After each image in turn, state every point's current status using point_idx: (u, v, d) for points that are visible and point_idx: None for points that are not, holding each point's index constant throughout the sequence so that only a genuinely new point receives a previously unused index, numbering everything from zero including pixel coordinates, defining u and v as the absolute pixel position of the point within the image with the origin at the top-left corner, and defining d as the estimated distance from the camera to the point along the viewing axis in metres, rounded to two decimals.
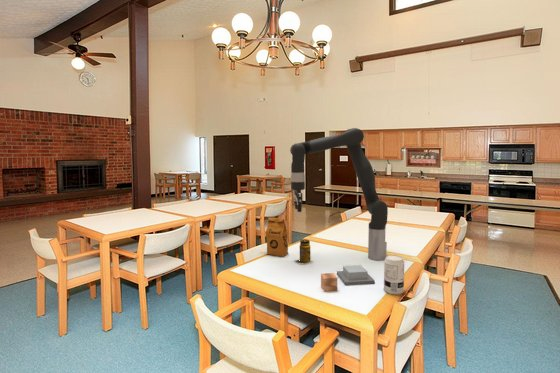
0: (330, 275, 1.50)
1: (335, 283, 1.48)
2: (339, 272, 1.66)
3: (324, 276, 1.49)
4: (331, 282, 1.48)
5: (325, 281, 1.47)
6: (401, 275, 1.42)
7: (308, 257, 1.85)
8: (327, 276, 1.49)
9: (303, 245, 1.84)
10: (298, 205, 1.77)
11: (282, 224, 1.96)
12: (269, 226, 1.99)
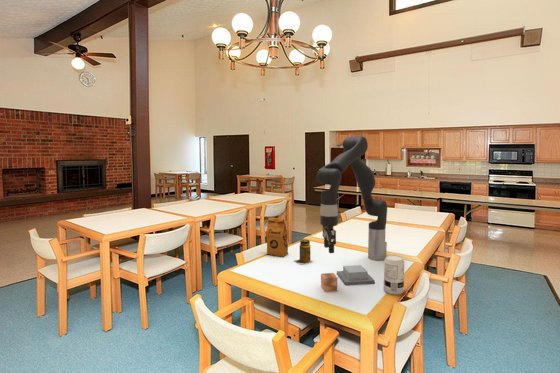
0: (330, 275, 1.50)
1: (335, 283, 1.48)
2: (339, 272, 1.66)
3: (324, 276, 1.49)
4: (331, 282, 1.48)
5: (325, 281, 1.47)
6: (401, 275, 1.42)
7: (308, 257, 1.85)
8: (327, 276, 1.49)
9: (303, 245, 1.84)
10: (330, 245, 1.43)
11: (282, 224, 1.96)
12: (269, 226, 1.99)
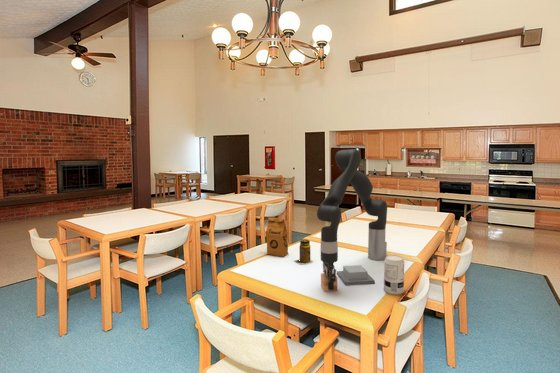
0: None
1: (335, 283, 1.48)
2: (339, 272, 1.66)
3: (324, 276, 1.49)
4: None
5: (325, 281, 1.47)
6: (401, 275, 1.42)
7: (308, 257, 1.85)
8: (327, 276, 1.49)
9: (303, 245, 1.84)
10: (330, 282, 1.46)
11: (282, 224, 1.96)
12: (269, 226, 1.99)
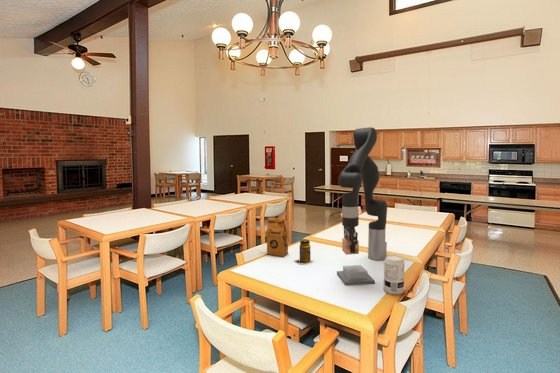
0: None
1: (356, 246, 1.55)
2: (339, 272, 1.66)
3: (346, 240, 1.57)
4: None
5: (347, 244, 1.54)
6: (401, 275, 1.42)
7: (308, 257, 1.85)
8: None
9: (303, 245, 1.84)
10: (351, 245, 1.53)
11: (282, 224, 1.96)
12: (269, 226, 1.99)
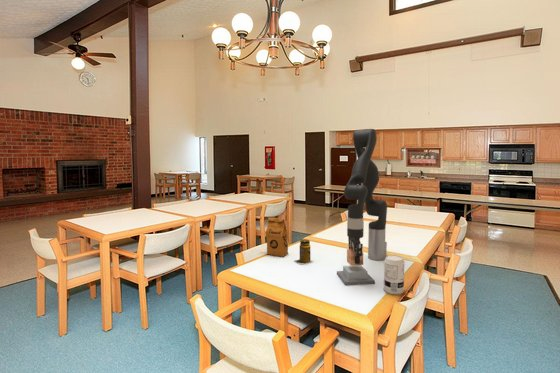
0: None
1: (361, 257, 1.57)
2: (339, 272, 1.66)
3: (350, 251, 1.59)
4: None
5: (352, 255, 1.57)
6: (401, 275, 1.42)
7: (308, 257, 1.85)
8: None
9: (303, 245, 1.84)
10: (356, 256, 1.56)
11: (282, 224, 1.96)
12: (269, 226, 1.99)
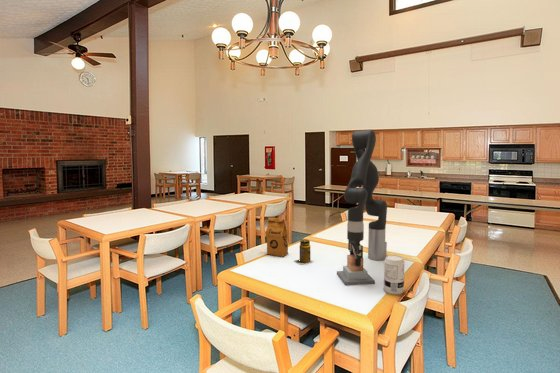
0: None
1: (361, 263, 1.58)
2: (339, 272, 1.66)
3: (351, 257, 1.59)
4: None
5: (352, 261, 1.57)
6: (401, 275, 1.42)
7: (308, 257, 1.85)
8: (354, 257, 1.59)
9: (303, 245, 1.84)
10: (357, 259, 1.55)
11: (282, 224, 1.96)
12: (269, 226, 1.99)
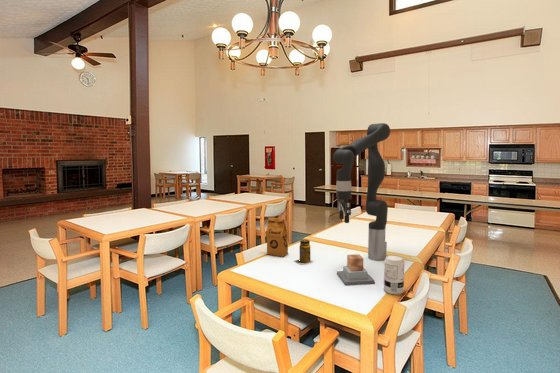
0: (356, 256, 1.60)
1: (361, 263, 1.58)
2: (339, 272, 1.66)
3: (351, 257, 1.59)
4: (357, 262, 1.57)
5: (352, 261, 1.57)
6: (401, 275, 1.42)
7: (308, 257, 1.85)
8: (354, 257, 1.59)
9: (303, 245, 1.84)
10: (346, 216, 1.66)
11: (282, 224, 1.96)
12: (269, 226, 1.99)
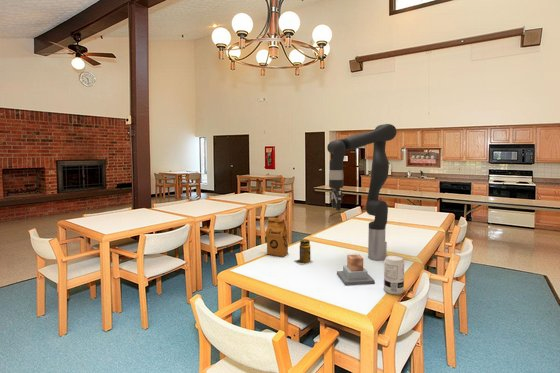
0: (356, 256, 1.60)
1: (361, 263, 1.58)
2: (339, 272, 1.66)
3: (351, 257, 1.59)
4: (357, 262, 1.57)
5: (352, 261, 1.57)
6: (401, 275, 1.42)
7: (308, 257, 1.85)
8: (354, 257, 1.59)
9: (303, 245, 1.84)
10: (337, 203, 1.75)
11: (282, 224, 1.96)
12: (269, 226, 1.99)
